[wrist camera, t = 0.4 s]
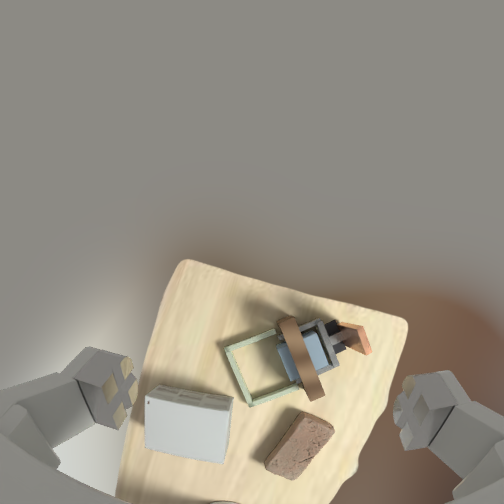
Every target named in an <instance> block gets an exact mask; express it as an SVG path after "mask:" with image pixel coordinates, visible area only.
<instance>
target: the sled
mask: <svg viewBox="0 0 504 504" xmlns="http://www.w3.org/2000/svg"><path fill="white" fill-rule="evenodd" d="M313 326H315V327H316V329H317V332H318V334H319V337H320V339H321V342H322V345H323V347H324V350H325V352H326V355H327V357H328V360H329V363H328V364H329V365H328V366H326V367H324V368H321V369H319V370H317V371H316V373H317V375H319V374H322V373H324V372H326V371H328V370H331V369H333V368H335V367H337V366H339V362H338V360H337V357H336V354H335V352H334V349H333V347H332V346H333V345H335V344H337V343H339V342H341V341H343V342H344V344H345V346H347V347H349V348H351V349H354V350H356V351H358V352H360V353H362V354H364V355H368V354H370V353H372V350H371V347H370V344H369V341H368V339H367V336H366V333H365V330H364V328H363V326H359V325H354V324H349V323H344V322H341V323H339V324H337V326H338V329H339V331H338V332H336V333H334V334H331V335H329V336H328V334H327V331H326V329H325V326H324V324H323V321H321V320H320V318H316V319H314V320H312V321H310V322H307V323H305V324H303V325H300V326H298V327H299V330H300V332H301V331H304V330H306V329H308V328H311V327H313ZM277 336H278V339H279V341H280V340H282V339H285V338H284V335H283V333H281V334H278V335H277ZM295 380H296V382H297V384H298V383H301V382H302V380H301V377H300V378H298V379H295Z"/></svg>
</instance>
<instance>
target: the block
mask: <svg viewBox="0 0 504 504" xmlns="http://www.w3.org/2000/svg"><path fill="white" fill-rule="evenodd" d="M302 337H303V340H304V342H305V345H306V347H307V350H308V352H309V355H310V357H311V360H312V362H313V365H314V368H315V370H316V371H317V370H319V369H321V368H324V367H326V366H328V365H329V364H328V361H327V359H326V356H325V353H324V351H323V348H322V346H321V343H320V341H319V338H318V336H317V333H316V332H314V331H312V330H311V331H309V332H307V333H304V334H302ZM276 347H277V350H278V352H279V355H280V357H281V359H282V362H283V364H284V367H285V369H286V372H287V374H288V376H289V379H290V381H293V380H295V379H298V378H300V375H299V372H298V370H297V367H296V365H295V363H294V360H293V358H292V355H291V353H290V350H289V348H288V345H287V343H286V341H285V342H283V343H280V344H278V345H276Z"/></svg>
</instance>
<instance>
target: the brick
mask: <svg viewBox="0 0 504 504" xmlns="http://www.w3.org/2000/svg"><path fill="white" fill-rule="evenodd" d="M334 433H335V430H334V427H333V426H332V425H331V424H330V423H328V422H326V421H324V420H322V419H320V418H317V417H315V416H313V415H310V414H308V413H305V412H301V413H300V414H299V415H298V416H297V418H296V419H295V421H294V423H293V424H292V425H291V426H290V428H289V429H288V431H287V432H286V433H285V435H284V436H283V438H282V439H281V441H280V442H279V443H278V445H277V446H276V448H275V449H274V450H273V451H272V452H271V453H270V454H269V456H268V457H267V459H266V460H265V462H264V464H265V468H266V470H268V471H270V472H272V473H274V474H277V475H280V476H282V477H285V478H286V479H290V480H295V479H297V478H298V477H299V475H301V473H302V472H303V471H304V470H305V469H306V468H307V466H308V464H309V463H310V462H311V459H313V458H314V457H315V455H316V454H317V453H318V452H319V451H320V449H321V448H323V446H324V445H325V444H326V443H327V442H328V441H329V439H330V438H331V437H332V435H333V434H334Z"/></svg>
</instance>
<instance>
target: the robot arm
mask: <svg viewBox="0 0 504 504" xmlns="http://www.w3.org/2000/svg"><path fill="white" fill-rule="evenodd" d="M133 368H134V367H133V363H132V360H131V359H130V358H129V357H127V356H123V355H119V354H115V353H112V352H108V351H105V350H100V349H96V348H93V347H85V349H83V350H82V351H81V352H80V353H79V355H78V356H76V357H75V359H74V360H73V361H72V362H71V363H70V364H69V365H68V366H67V367H66V368H65V369H64V370H63V371H62V372H61V373H60V374H59V373H57V372H56V373H53V374H50V375H47V376H44V377H41V378H38V379H35V380H32V381H29V382H26V383H23V384H19V385H17V386H13V387H10V388H7V389H3V390H0V504H132V503H129V502H127V501H124V500H121V499H119V498H116V497H113V496H111V495H108V494H106V493H103V492H101V491H99V490H97V489H94V488H92V487H90V486H88V485H86V484H83V483H81V482H79V481H77V480H75V479H73V478H71V477H69V476H68V475H66V474H64V473H62V472H60V471H58V470H56V469H57V468H58V466H59V465H60V463H61V462H60V459H59V457H58V456H57V455H56V453H55V452H54V451H53V449H52V448H54V447H56V446H58V445H60V444H61V443H63V442H65V441H67V440H69V439H70V438H72V437H74V436H75V435H77V434H79V433H81V432H82V431H84V430H86V429H88V428H89V427H91V426H93V425H94V424H95V423H98V424H101V425H104V426H107V427H110V428H113V429H116V430H119V428H120V427H121V425H122V423H123V422H124V420H125V418H126V417H127V414H126V409H128V408H130V407H132V406H133V405H134V403H135V401H136V398H137V394H138V383H137V379H136V378H135V376H134V375H133V374H132V373H131V371H132V369H133ZM402 387H403V389H404V391H403V392H402V393H401V394H399V395H398V396H397V398H396V401H395V403H394V409H393V416H394V421H395V423H396V425H397V426H399V427H400V428H401V429H402V430H401V433H400V438H401V441H402V444H403V447H404V450H405V451H406V450H412V449H418V448H424V447H428V448H429V449H430V450H431V451H432V452H433V453H434V454H435V455H437V456H438V457H439V458H440V459H441V460H442V461H443V462H444V463H445V464H447V465H448V466H449V467H450V468H451V469H452V470H453V471H455V472H456V473H457V474H458V475H459V476H460V477H461V478H463V480H462V481H461V482H460V484H458V485H457V486H456V487H455V488H454V490H453V492H452V493H453V497H454V500H453V501H450V502H448V503H445V504H504V417H503V416H501V415H499V414H498V413H496V412H494V411H492V410H490V409H488V408H487V407H485V406H483V405H481V404H479V403H478V402H476V401H473V402H471V400H470V399H469V397H468V396H467V394H466V393H465V391H464V389H463V388H462V386H461V385H460V384H459V382H458V380H457V379H456V378H455V376H454V375H453V373H452V372H451V371H449V370H446V371H440V372H435V373H427V374H418V375H409V376H407V377H406V378H405V380H404V382H403V384H402ZM210 504H238V503H234V502H225V501H221V502H214V503H210Z"/></svg>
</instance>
